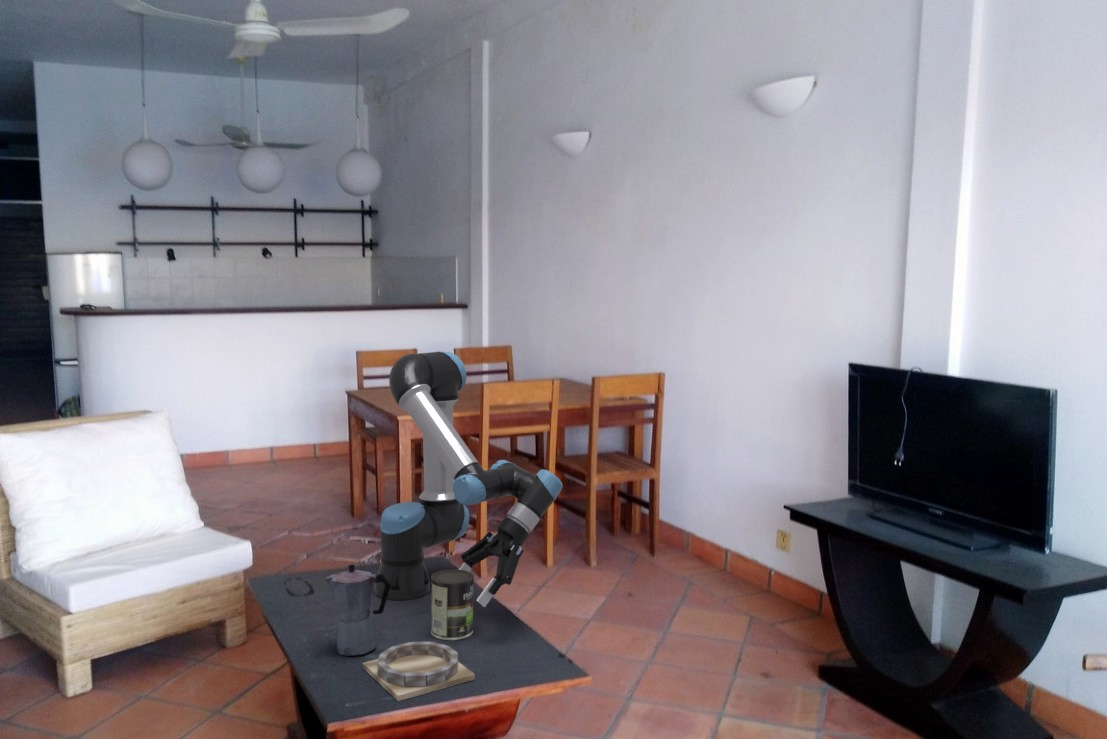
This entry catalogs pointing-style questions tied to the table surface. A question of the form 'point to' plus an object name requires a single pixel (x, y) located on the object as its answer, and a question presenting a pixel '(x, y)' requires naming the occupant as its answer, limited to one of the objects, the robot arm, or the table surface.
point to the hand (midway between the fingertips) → (465, 595)
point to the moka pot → (355, 609)
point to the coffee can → (452, 604)
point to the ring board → (417, 669)
